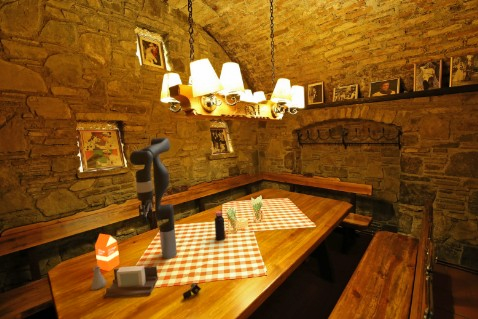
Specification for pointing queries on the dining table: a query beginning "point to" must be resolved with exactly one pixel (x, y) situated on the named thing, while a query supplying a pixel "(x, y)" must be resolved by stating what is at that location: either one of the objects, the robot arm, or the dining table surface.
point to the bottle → (219, 226)
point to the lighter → (193, 289)
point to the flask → (97, 279)
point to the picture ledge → (133, 290)
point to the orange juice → (107, 252)
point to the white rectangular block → (131, 276)
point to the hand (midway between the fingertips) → (148, 220)
